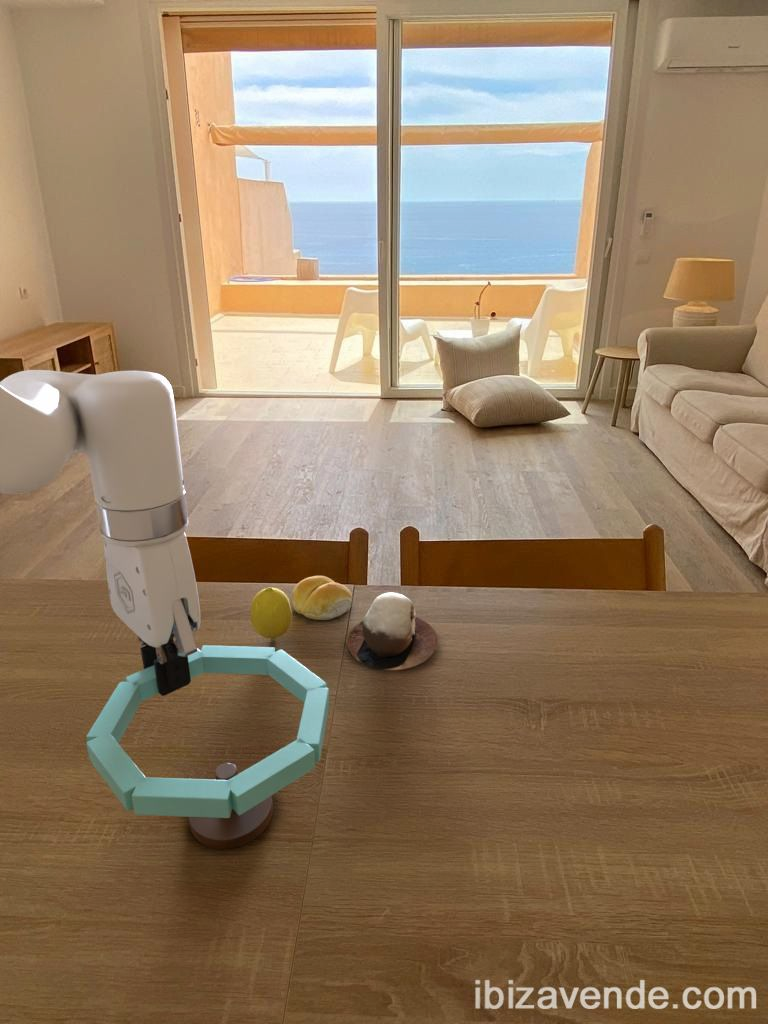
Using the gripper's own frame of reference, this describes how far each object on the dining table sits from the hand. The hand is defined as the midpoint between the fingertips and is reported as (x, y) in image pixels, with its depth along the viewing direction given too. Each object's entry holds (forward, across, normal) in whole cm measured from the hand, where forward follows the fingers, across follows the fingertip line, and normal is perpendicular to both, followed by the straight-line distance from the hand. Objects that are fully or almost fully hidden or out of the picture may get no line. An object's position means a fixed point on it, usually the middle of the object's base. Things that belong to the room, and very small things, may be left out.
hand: (168, 681), depth 69 cm
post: (+11, +9, 0) cm, 14 cm away
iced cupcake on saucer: (+11, -1, +32) cm, 33 cm away
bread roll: (+11, -15, +30) cm, 36 cm away
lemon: (+11, -13, +20) cm, 27 cm away
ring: (0, +9, 0) cm, 9 cm away
